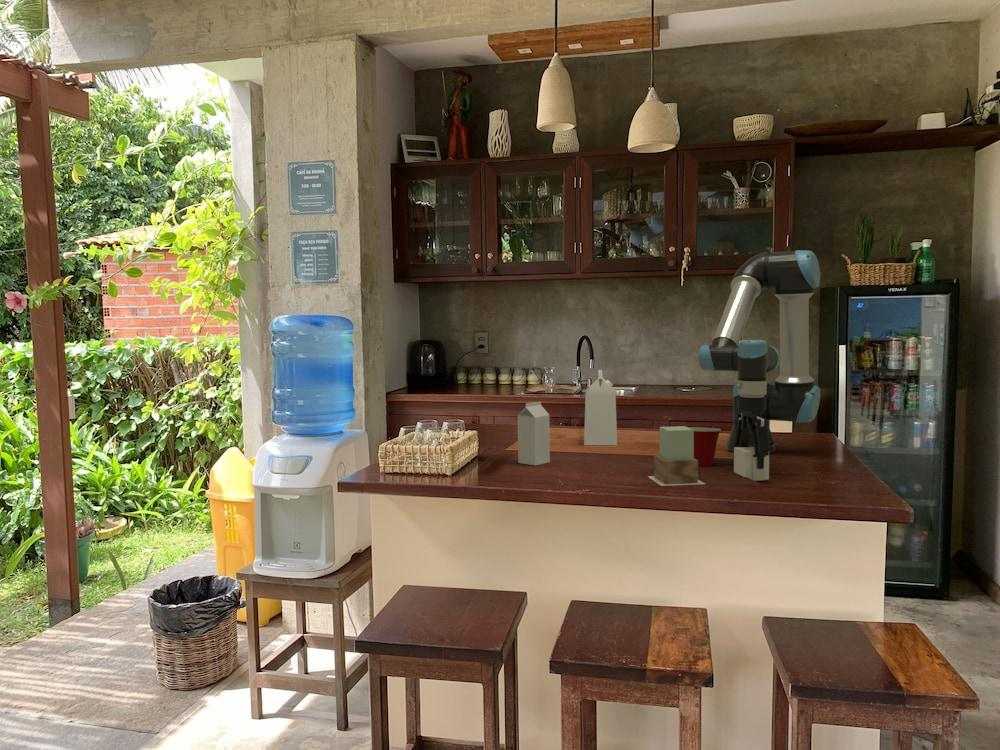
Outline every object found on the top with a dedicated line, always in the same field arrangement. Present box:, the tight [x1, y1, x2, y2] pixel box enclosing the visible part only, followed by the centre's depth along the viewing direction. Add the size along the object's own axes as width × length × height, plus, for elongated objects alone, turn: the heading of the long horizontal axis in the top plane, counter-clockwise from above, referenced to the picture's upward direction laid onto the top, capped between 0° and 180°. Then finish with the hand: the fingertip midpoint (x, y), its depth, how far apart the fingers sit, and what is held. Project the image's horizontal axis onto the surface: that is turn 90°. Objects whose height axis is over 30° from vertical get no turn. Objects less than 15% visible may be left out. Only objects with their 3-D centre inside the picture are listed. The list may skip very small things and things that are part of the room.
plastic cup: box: [689, 427, 722, 467], centre depth 227 cm, size 11×11×12 cm
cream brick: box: [733, 447, 770, 481], centre depth 213 cm, size 7×7×8 cm
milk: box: [583, 369, 618, 446], centre depth 272 cm, size 12×12×26 cm
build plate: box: [647, 475, 706, 487], centre depth 206 cm, size 12×12×1 cm
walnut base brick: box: [653, 454, 699, 484], centre depth 206 cm, size 9×9×6 cm
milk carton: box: [517, 401, 551, 466], centre depth 238 cm, size 7×7×19 cm
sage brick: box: [659, 425, 694, 461], centre depth 206 cm, size 7×7×8 cm
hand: (750, 476), depth 213 cm, fingers open, 9 cm apart
